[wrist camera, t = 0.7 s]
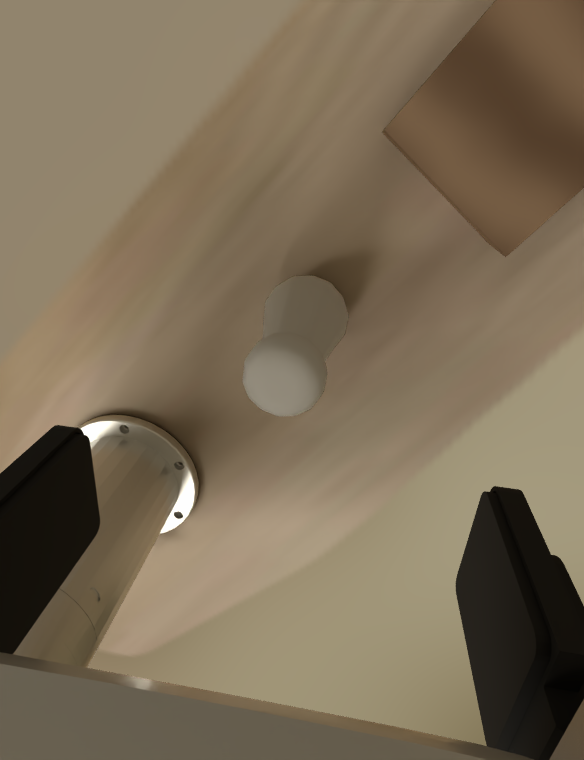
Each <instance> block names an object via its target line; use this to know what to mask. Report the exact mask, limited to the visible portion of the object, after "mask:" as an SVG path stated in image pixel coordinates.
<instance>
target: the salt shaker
mask: <svg viewBox="0 0 584 760" xmlns="http://www.w3.org/2000/svg"><path fill="white" fill-rule="evenodd" d="M348 318H349V315H348V312H347V308H346V305H345V302H344V298H343V296H342V295H341V294H340V293H339V292H338V291H337V289H336V288H335V287H334V286H333V285H332V284H331V282H328V281H326V280H323V279H321V278H318V277H316V276H313V275H310V276H293V277H291V278H289V279H287V280H286V281H284V282H282V283H281V284H279V285H277V286H276V287H275V288H274V290H273V291H272V293H271V294H270V295H269V297H268V298H267V300H266V301H265V310H264V322H263V339H262V340H260V341H258V342H257V343H256V345H255V346H254V347H253V349H252V350H251V352H250V353H249V354H248V356H247V357H246V359H245V362H244V372H243V384H244V387H245V390H246V392H247V395H248V397H249V398H250V399H251V400H252V401H253V402H254V403H255V404H256V405H257V406H258V407H259V408H260V409H261V410H263V411H266V412H268V413H270V414H273V415H275V416H296V415H299V414H301V413H303V412H305V411H308V410H310V409H311V408H312V407H313V405H314V404H315V403H316V402H317V400H318V399H319V398H320V397H321V395H322V394H323V392H324V388H325V383H326V378H327V367H326V364H325V361H326V359H327V358H328V356H329V355H330V353H331V352H332V351H333V349H334V348H335V347H336V345H337V344H338V343H339V341H340V340H341V339H342V337H343V336H344V335H345V332H346V327H347V322H348Z"/></svg>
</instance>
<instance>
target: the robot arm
mask: <svg viewBox="0 0 584 760" xmlns="http://www.w3.org/2000/svg"><path fill="white" fill-rule="evenodd" d="M198 486H199V482H198V477H197V472H196V469H195V467H194V464H193V462H192V460H191V458H190V457H189V455H188V454H187V452H186V450H185V449H184V448H183V447H182V446H181V445H180V444H179V442H178V441H177V440H176V439H175V438H173V437H172V436H171V435H170V434H168V433H167V432H166V431H164V430H163V429H161V428H159V427H157V426H156V425H154V424H152V423H150V422H147V421H145V420H142V419H139V418H135V417H130V416H126V415H107V416H100V417H97V418H94V419H92V420H89V421H87V422H86V423H84V424H83V425H81V426H79V427H78V428H74V427H67V426H60V425H57V426H54V427H52V428H51V429H50V430H49V431H48V432H47V433H46V434H44V435H43V436H42V437H41V438H40V439H39V440H38V441H37V442H35V443H34V444H33V445H32V446H31V447H30V448H29V449H28V450H26V451H25V452H24V453H23V454H22V455H21V456H20V457H19V458H17V459H16V460H15V461H14V462H13V463H12V464H11V465H10V466H8V467H7V468H6V469H5V470H4V471H3V472H2V473H1V474H0V760H584V606H583V604H582V602H581V599H580V597H579V595H578V593H577V591H576V589H575V587H574V585H573V582H572V580H571V578H570V576H569V574H568V572H567V570H566V568H565V565H564V564H563V562H562V561H561V559H560V558H559V557H557V556H555V555H551V554H550V552H549V549H548V547H547V545H546V543H545V540H544V538H543V536H542V534H541V532H540V529H539V527H538V525H537V523H536V521H535V519H534V516H533V514H532V512H531V509H530V507H529V505H528V503H527V501H526V498H525V497H524V494H523V492H522V491H521V490H518V489H511V488H503V487H496V486H494V487H493V488H492V489H491V491H490V492H483V493H482V495H481V498H480V501H479V505H478V508H477V511H476V515H475V519H474V521H473V525H472V528H471V531H470V534H469V538H468V541H467V545H466V548H465V551H464V554H463V558H462V561H461V564H460V568H459V571H458V574H457V578H456V595H457V600H458V605H459V609H460V615H461V619H462V624H463V630H464V634H465V639H466V645H467V650H468V655H469V659H470V665H471V670H472V675H473V680H474V685H475V690H476V695H477V700H478V705H479V710H480V715H481V720H482V725H483V730H484V735H485V740H486V744H487V746H483V745H479V744H475V743H471V742H466V741H461V740H457V739H452V738H447V737H442V736H438V735H433V734H428V733H423V732H419V731H414V730H409V729H405V728H400V727H395V726H390V725H385V724H379V723H375V722H370V721H365V720H359V719H354V718H349V717H344V716H339V715H334V714H329V713H323V712H318V711H313V710H308V709H303V708H297V707H293V706H287V705H282V704H277V703H272V702H266V701H261V700H255V699H251V698H246V697H240V696H235V695H230V694H224V693H219V692H214V691H208V690H203V689H198V688H193V687H187V686H182V685H176V684H171V683H166V682H160V681H155V680H150V679H145V678H139V677H133V676H128V675H123V674H117V673H112V672H107V671H101V670H95V669H90V668H88V666H89V664H90V662H91V660H92V658H93V657H94V655H95V653H96V651H97V649H98V647H99V645H100V643H101V642H102V640H103V638H104V636H105V634H106V632H107V630H108V629H109V627H110V625H111V623H112V621H113V619H114V617H115V616H116V614H117V612H118V610H119V608H120V606H121V604H122V603H123V601H124V599H125V597H126V595H127V593H128V592H129V590H130V588H131V586H132V584H133V582H134V580H135V579H136V577H137V575H138V573H139V571H140V569H141V567H142V566H143V564H144V562H145V560H146V558H147V556H148V554H149V553H150V551H151V549H152V547H153V545H154V543H155V541H156V540H157V538H158V536H159V534H161V533H165V532H168V531H170V530H172V529H174V528H176V527H178V526H179V525H180V524H181V523H183V522H184V521H185V520H186V518H187V517H188V516H189V514H190V513H191V511H192V509H193V507H194V505H195V503H196V499H197V496H198Z"/></svg>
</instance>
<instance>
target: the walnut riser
mask: <svg viewBox="0 0 584 760" xmlns="http://www.w3.org/2000/svg"><path fill="white" fill-rule="evenodd" d="M382 132H383V133H384V135H385V136H386V137H387V138H388V139H389V140H390V141H391V142H392V143H393V144H394V145H395V146H396V147H397V148H398V149H399V150H400V151H401V152H402V153H403V154H404V155H405V156H406V157H407V159H408V160H409V161H410V162H411V163H412V164H413V165H414V166H415V167H416V168H417V169H418V170H419V171H420V172H421V173H422V174H423V175H424V176H425V177H426V178H427V179H428V180H429V181H430V183H431V184H432V185H433V186H434V187H435V188H436V189H437V190H438V191H439V192H440V193H441V194H442V195H443V196H444V197H445V198H446V199H447V200H448V201H449V202H450V203H451V204H452V205H453V207H454V208H455V209H456V210H457V211H458V212H459V213H460V214H461V215H462V216H463V217H464V218H465V219H466V220H467V221H468V222H469V223H470V224H471V225H472V226H473V227H474V228H475V229H476V230H477V232H478V233H479V234H480V235H481V236H482V237H483V238H484V239H485V240H486V241H487V242H488V243H489V244H490V245H491V246H492V247H494V248H495V249H496V250H497V251H499V252H500V253H501V254H502V255H504V256H505V257H506V256H507V255H508V254H510V253H511V252H512V251H513V250H514V249H515V248H516V247H517V246H519V245H520V244H521V243H522V242H523V241H524V240H525V239H526V238H528V237H529V236H530V235H531V234H532V233H533V232H534V231H535V230H537V229H538V228H539V227H540V226H541V225H542V224H543V223H544V222H546V221H547V220H548V219H549V218H550V217H551V216H552V215H553V214H555V213H556V212H557V211H558V210H559V209H560V208H561V207H562V206H564V205H565V204H566V203H567V202H568V201H569V200H570V199H571V198H573V197H574V196H575V195H576V194H577V193H578V192H579V191H580V190H582V189H583V188H584V0H496V1H495V2H494V3H493V4H492V5H491V6H490V8H489V9H488V10H487V11H486V12H485V13H484V15H483V16H482V17H481V18H480V19H479V20H478V22H477V23H476V24H475V25H474V26H473V27H472V28H471V30H470V31H469V32H468V33H467V34H466V35H465V37H464V38H463V39H462V40H461V41H460V42H459V43H458V45H457V46H456V47H455V48H454V49H453V50H452V52H451V53H450V54H449V55H448V56H447V57H446V59H445V60H444V61H443V62H442V63H441V64H440V65H439V67H438V68H437V69H436V70H435V71H434V72H433V74H432V75H431V76H430V77H429V78H428V79H427V81H426V82H425V83H424V84H423V85H422V86H421V87H420V89H419V90H418V91H417V92H416V93H415V94H414V96H413V97H412V98H411V99H410V100H409V101H408V102H407V104H406V105H405V106H404V107H403V108H402V109H401V111H400V112H399V113H398V114H397V115H396V116H395V118H394V119H393V120H392V121H391V122H390V123H389V124H388V126H387V127H386V128H385V129H384V130H383V131H382Z"/></svg>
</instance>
